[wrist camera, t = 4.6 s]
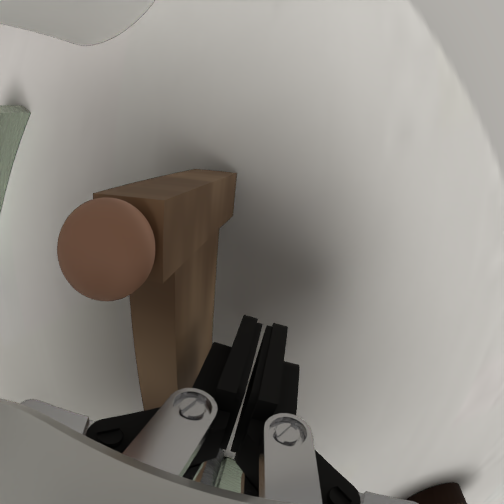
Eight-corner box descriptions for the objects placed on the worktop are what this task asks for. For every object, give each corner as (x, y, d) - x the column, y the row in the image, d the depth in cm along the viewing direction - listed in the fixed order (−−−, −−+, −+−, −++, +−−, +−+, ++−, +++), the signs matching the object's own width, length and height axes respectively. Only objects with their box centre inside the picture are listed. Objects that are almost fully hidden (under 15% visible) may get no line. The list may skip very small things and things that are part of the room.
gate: (217, 443, 18) (181, 552, 10) (189, 437, 18) (145, 541, 10) (239, 170, 12) (119, 215, 4) (192, 166, 13) (32, 204, 4)
